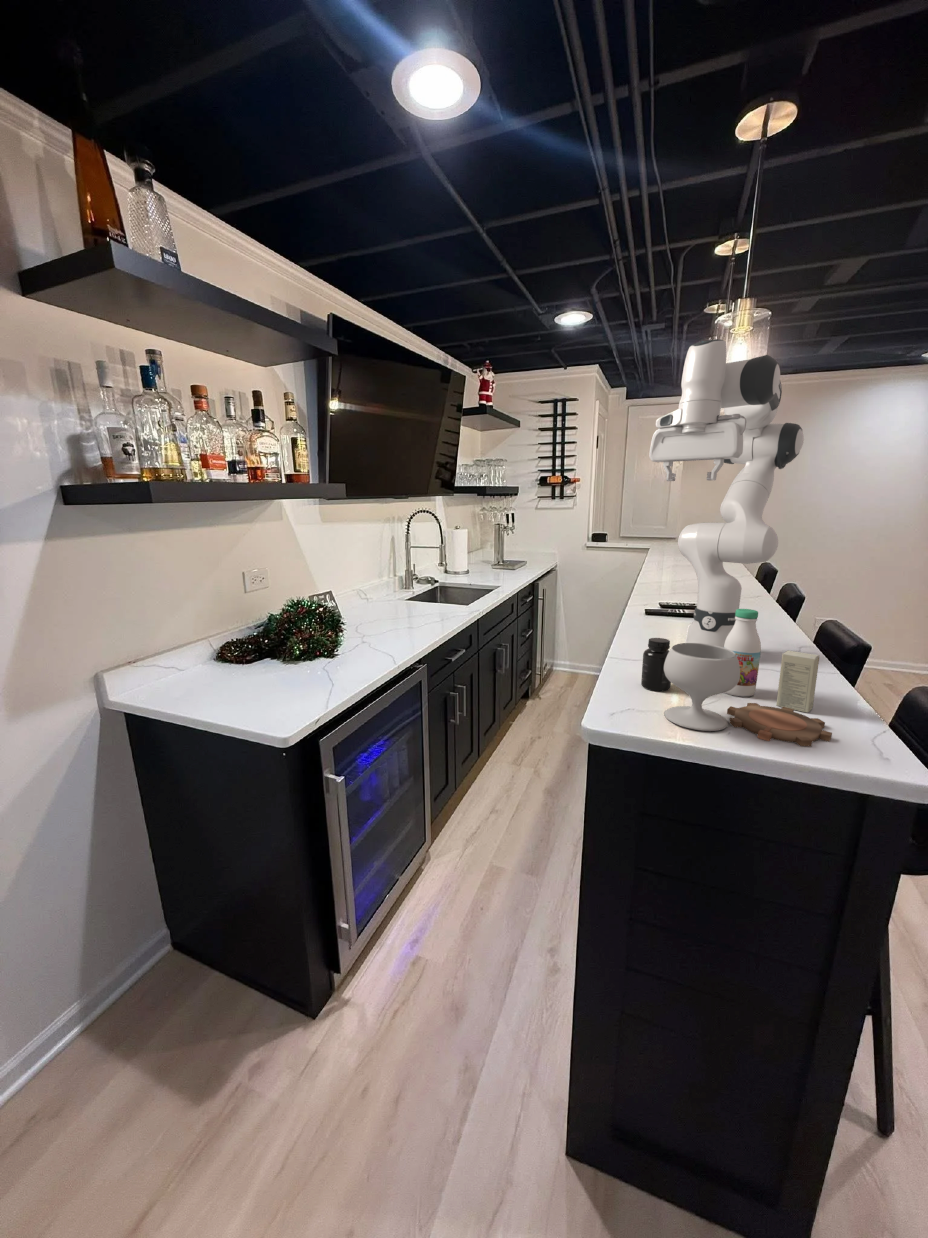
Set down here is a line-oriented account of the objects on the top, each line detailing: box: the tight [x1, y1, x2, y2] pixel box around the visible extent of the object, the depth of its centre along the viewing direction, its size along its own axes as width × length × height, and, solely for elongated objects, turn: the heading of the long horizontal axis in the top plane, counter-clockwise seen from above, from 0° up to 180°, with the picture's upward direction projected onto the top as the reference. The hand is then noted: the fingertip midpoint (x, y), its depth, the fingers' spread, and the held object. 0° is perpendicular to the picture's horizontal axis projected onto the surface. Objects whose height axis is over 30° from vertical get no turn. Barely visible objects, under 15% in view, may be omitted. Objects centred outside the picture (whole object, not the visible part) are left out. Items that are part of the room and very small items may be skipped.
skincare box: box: [775, 649, 820, 713], centre depth 109 cm, size 6×4×12 cm
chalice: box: [663, 642, 740, 732], centre depth 101 cm, size 14×14×15 cm
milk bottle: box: [723, 608, 762, 698], centre depth 117 cm, size 8×8×20 cm
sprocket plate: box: [726, 702, 833, 747], centre depth 100 cm, size 18×18×1 cm
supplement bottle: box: [640, 637, 672, 692], centre depth 121 cm, size 7×7×12 cm
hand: (690, 480), depth 116 cm, fingers open, 8 cm apart
